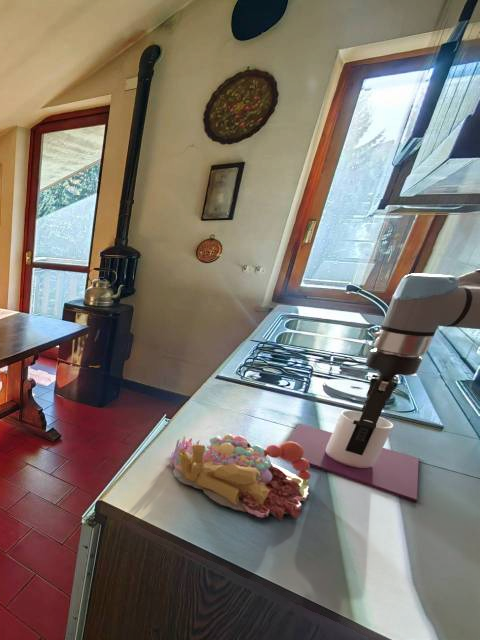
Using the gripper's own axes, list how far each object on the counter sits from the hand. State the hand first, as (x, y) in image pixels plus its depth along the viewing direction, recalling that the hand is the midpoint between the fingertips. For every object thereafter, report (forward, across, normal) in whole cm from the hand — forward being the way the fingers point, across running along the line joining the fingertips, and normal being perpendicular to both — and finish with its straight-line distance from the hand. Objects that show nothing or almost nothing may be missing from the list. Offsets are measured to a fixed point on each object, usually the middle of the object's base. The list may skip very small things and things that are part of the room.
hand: (357, 441), depth 88 cm
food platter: (+4, +30, -15) cm, 34 cm away
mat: (+4, 0, 0) cm, 4 cm away
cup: (+4, 0, 0) cm, 4 cm away
